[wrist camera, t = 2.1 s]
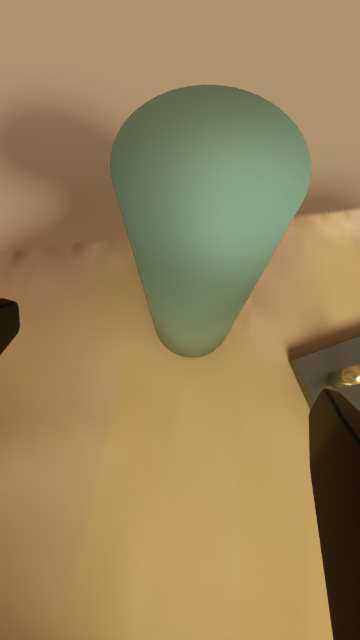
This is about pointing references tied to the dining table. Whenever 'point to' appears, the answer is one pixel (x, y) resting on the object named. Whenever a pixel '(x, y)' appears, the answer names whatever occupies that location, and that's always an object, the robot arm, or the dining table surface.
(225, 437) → the dining table surface
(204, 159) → the teal wooden post
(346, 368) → the plate
